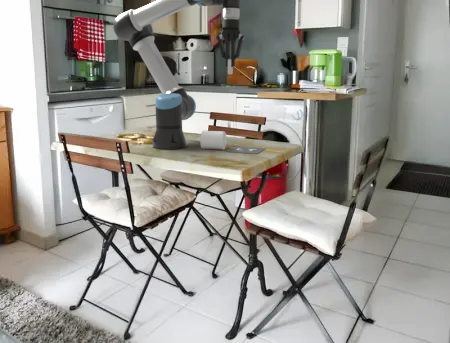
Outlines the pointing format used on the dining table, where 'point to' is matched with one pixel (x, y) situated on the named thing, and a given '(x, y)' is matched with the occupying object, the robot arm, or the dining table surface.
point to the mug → (213, 140)
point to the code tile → (245, 150)
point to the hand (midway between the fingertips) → (230, 74)
